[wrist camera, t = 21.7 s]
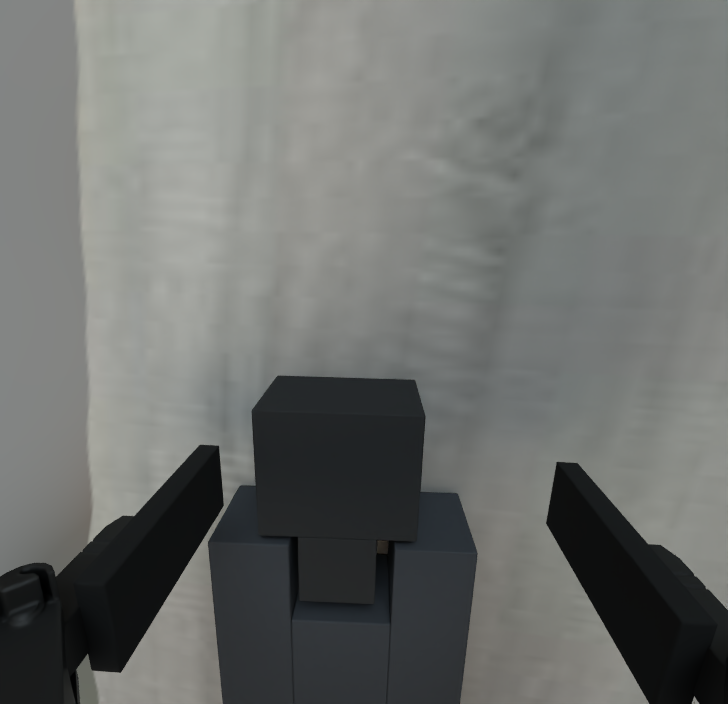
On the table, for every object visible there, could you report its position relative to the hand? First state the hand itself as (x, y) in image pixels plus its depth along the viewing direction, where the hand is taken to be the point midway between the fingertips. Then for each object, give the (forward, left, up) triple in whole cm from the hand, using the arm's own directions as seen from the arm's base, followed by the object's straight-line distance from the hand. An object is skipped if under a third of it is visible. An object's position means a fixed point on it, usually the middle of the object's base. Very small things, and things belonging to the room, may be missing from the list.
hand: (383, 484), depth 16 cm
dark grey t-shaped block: (+2, +2, -5) cm, 6 cm away
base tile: (+2, +12, -5) cm, 13 cm away
